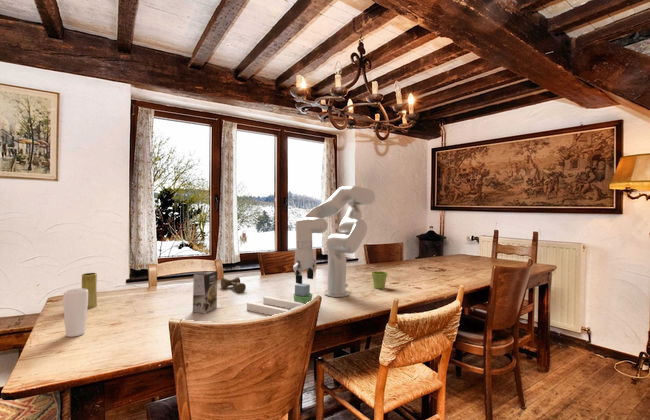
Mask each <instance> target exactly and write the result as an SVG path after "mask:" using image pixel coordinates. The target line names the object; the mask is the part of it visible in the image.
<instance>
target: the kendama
mask: <svg viewBox="0 0 650 420" xmlns="http://www.w3.org/2000/svg"><path fill="white" fill-rule="evenodd" d="M230 286H231V287H233V290H235V291H237V293H239V294H240V293H244V292H245V291H246V289H247V286H246V283H242V282H241V279H240V277H239V276H236V277H234V278H233V279H227V278H225V277H222V278H221V279H220V287H221V289H223V290H225V289H227V288H228V287H230Z"/></svg>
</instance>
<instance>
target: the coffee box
mask: <svg viewBox="0 0 650 420" xmlns="http://www.w3.org/2000/svg"><path fill="white" fill-rule="evenodd" d="M192 282H193V284H192V288H193V289H192V313H199V314H207V313H208V312H211V311H212V310H215V309H216V308H218V307H217V306H218V304H217V303H218V271H217V270H204V271H200V272H198V273H194V274H193V281H192Z"/></svg>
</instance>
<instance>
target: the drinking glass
mask: <svg viewBox="0 0 650 420" xmlns="http://www.w3.org/2000/svg"><path fill="white" fill-rule="evenodd" d="M62 297H63V300H62V305H63V315H64V325H65V326H64V327H65V337H68V338H75V337H79V336H82V335H83V334H85V332H86V322H87V313H88V308H87V307H88V289H83V288H82V287H81V288H72V289H68V290H65V291H63V296H62Z"/></svg>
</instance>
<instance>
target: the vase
mask: <svg viewBox="0 0 650 420" xmlns="http://www.w3.org/2000/svg"><path fill="white" fill-rule="evenodd" d="M97 279H98V275H97V273H96V272H86V273H82V274H81V288H83V289H88V307H87V309H93V308H96V307H97V306H98V295H97V292H98V291H97V281H98V280H97Z"/></svg>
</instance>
